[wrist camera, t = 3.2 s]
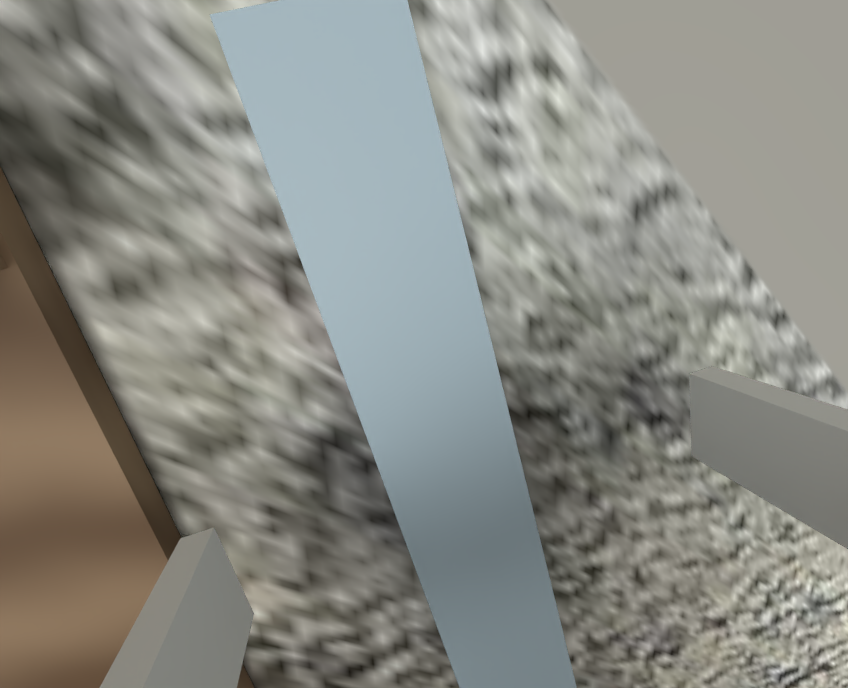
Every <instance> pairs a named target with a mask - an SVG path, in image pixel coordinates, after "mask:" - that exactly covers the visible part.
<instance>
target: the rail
mask: <svg viewBox="0 0 848 688" xmlns="http://www.w3.org/2000/svg"><path fill="white" fill-rule="evenodd" d="M210 17H211V20H212V22H213V25H214V28H215V30H216V33H217V36H218V38H219V41H220V44H221V47H222V49H223V52H224V55H225V57H226V60H227V63H228V65H229V68H230V71H231V73H232V76H233V79H234V82H235V84H236V87H237V90H238V92H239V95H240V98H241V100H242V103H243V106H244V108H245V111H246V114H247V117H248V119H249V122H250V125H251V127H252V130H253V133H254V135H255V138H256V141H257V143H258V146H259V149H260V152H261V154H262V157H263V160H264V162H265V165H266V168H267V170H268V173H269V176H270V178H271V181H272V184H273V187H274V189H275V192H276V195H277V197H278V200H279V203H280V205H281V208H282V211H283V214H284V216H285V219H286V222H287V224H288V227H289V230H290V232H291V235H292V238H293V240H294V243H295V246H296V249H297V251H298V254H299V257H300V259H301V262H302V265H303V267H304V270H305V273H306V275H307V278H308V281H309V284H310V286H311V289H312V292H313V294H314V297H315V300H316V302H317V305H318V308H319V310H320V313H321V316H322V319H323V321H324V324H325V327H326V329H327V332H328V335H329V337H330V340H331V343H332V345H333V348H334V351H335V354H336V356H337V359H338V362H339V364H340V367H341V370H342V372H343V375H344V378H345V380H346V383H347V386H348V389H349V391H350V394H351V397H352V399H353V402H354V405H355V407H356V410H357V413H358V415H359V418H360V421H361V424H362V426H363V429H364V432H365V434H366V437H367V440H368V442H369V445H370V448H371V450H372V453H373V456H374V459H375V461H376V464H377V467H378V469H379V472H380V475H381V477H382V480H383V483H384V485H385V488H386V491H387V494H388V496H389V499H390V502H391V504H392V507H393V510H394V512H395V515H396V518H397V520H398V523H399V526H400V529H401V531H402V534H403V537H404V539H405V542H406V545H407V547H408V550H409V553H410V555H411V558H412V561H413V564H414V566H415V569H416V572H417V574H418V577H419V580H420V582H421V585H422V588H423V591H424V593H425V596H426V599H427V601H428V604H429V607H430V609H431V612H432V615H433V617H434V620H435V623H436V626H437V628H438V631H439V634H440V636H441V639H442V642H443V644H444V647H445V650H446V652H447V655H448V658H449V661H450V663H451V666H452V669H453V671H454V674H455V677H456V679H457V682H458V685H459V687H460V688H577V687H576V683H575V678H574V674H573V670H572V666H571V662H570V658H569V654H568V650H567V646H566V642H565V638H564V634H563V630H562V626H561V622H560V618H559V614H558V609H557V605H556V601H555V597H554V593H553V589H552V585H551V581H550V577H549V573H548V569H547V565H546V561H545V557H544V553H543V549H542V545H541V541H540V536H539V532H538V528H537V524H536V520H535V516H534V512H533V508H532V504H531V500H530V496H529V492H528V488H527V484H526V480H525V476H524V472H523V468H522V463H521V459H520V455H519V451H518V447H517V443H516V439H515V435H514V431H513V427H512V423H511V419H510V415H509V411H508V407H507V403H506V399H505V395H504V390H503V386H502V382H501V378H500V374H499V370H498V366H497V362H496V358H495V354H494V350H493V346H492V342H491V338H490V334H489V330H488V326H487V322H486V317H485V313H484V309H483V305H482V301H481V297H480V293H479V289H478V285H477V281H476V277H475V273H474V269H473V265H472V261H471V257H470V253H469V248H468V244H467V240H466V236H465V232H464V228H463V224H462V220H461V216H460V212H459V208H458V204H457V200H456V196H455V192H454V188H453V184H452V180H451V175H450V171H449V167H448V163H447V159H446V155H445V151H444V147H443V143H442V139H441V135H440V131H439V127H438V123H437V119H436V115H435V111H434V107H433V102H432V98H431V94H430V90H429V86H428V82H427V78H426V74H425V70H424V66H423V62H422V58H421V54H420V50H419V46H418V42H417V38H416V34H415V29H414V25H413V21H412V17H411V13H410V9H409V5H408V1H407V0H279V1H274V2H269V3H264V4H259V5H255V6H250V7H245V8H240V9H235V10H230V11H225V12H220V13H215V14H210Z"/></svg>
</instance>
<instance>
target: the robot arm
mask: <svg viewBox="0 0 848 688" xmlns="http://www.w3.org/2000/svg"><path fill="white" fill-rule="evenodd" d="M689 387H690V417H691V448H692V457H694V458H696V459H697V460H699V461H701V462H702V463H704V464H706V465H707V466H709V467H711V468H712V469H714V470H716V471H717V472H719V473H721V474H722V475H724V476H726V477H727V478H729V479H731V480H733V481H734V482H736V483H738V484H739V485H741V486H743V487H744V488H746V489H748V490H749V491H751V492H753V493H754V494H756V495H758V496H759V497H761V498H763V499H764V500H766V501H768V502H770V503H771V504H773V505H775V506H776V507H778V508H780V509H781V510H783V511H785V512H786V513H788V514H790V515H791V516H793V517H795V518H796V519H798V520H800V521H801V522H803V523H805V524H807V525H808V526H810V527H812V528H813V529H815V530H817V531H818V532H820V533H822V534H823V535H825V536H827V537H828V538H830V539H832V540H833V541H835V542H837V543H838V544H840V545H842V546H844V547H845V548H847V549H848V410H847V409H844V408H841V407H838V406H835V405H832V404H828V403H825V402H822V401H819V400H816V399H813V398H810V397H807V396H804V395H800V394H797V393H794V392H791V391H788V390H785V389H782V388H779V387H776V386H772V385H769V384H766V383H763V382H760V381H757V380H754V379H751V378H748V377H744V376H741V375H738V374H735V373H732V372H729V371H726V370H723V369H719V368H716V367H713V366H711V367H708V368H704V369H701V370H698V371H695V372H692V373H689ZM253 615H254V613H253V611H252V608H251V606H250V604H249V602H248V600H247V598H246V595H245V593H244V591H243V589H242V587H241V585H240V582H239V580H238V578H237V576H236V574H235V572H234V569H233V567H232V565H231V563H230V561H229V559H228V556H227V554H226V552H225V550H224V548H223V546H222V544H221V541H220V539H219V537H218V535H217V533H216V531H215V528H211V529H208V530H204V531H201V532H198V533H195V534H192V535H189V536H186V537H183V538H180V540H179V542H178V544H177V546H176V547H175V549H174V551H173V553H172V555H171V557H170V558H169V560H168V562H167V564H166V566H165V568H164V570H163V571H162V573H161V575H160V577H159V579H158V581H157V582H156V584H155V586H154V588H153V590H152V592H151V594H150V595H149V597H148V599H147V601H146V603H145V605H144V606H143V608H142V610H141V612H140V614H139V616H138V618H137V619H136V621H135V623H134V625H133V627H132V629H131V631H130V632H129V634H128V636H127V638H126V640H125V642H124V643H123V645H122V647H121V649H120V651H119V653H118V655H117V656H116V658H115V660H114V662H113V664H112V666H111V667H110V669H109V671H108V673H107V675H106V677H105V679H104V680H103V682H102V684H101V686H100V688H237V685H238V680H239V676H240V672H241V667H242V663H243V659H244V654H245V650H246V646H247V641H248V637H249V633H250V628H251V624H252V620H253Z"/></svg>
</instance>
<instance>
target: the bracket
mask: <svg viewBox="0 0 848 688" xmlns="http://www.w3.org/2000/svg"><path fill="white" fill-rule="evenodd" d="M180 538H181V536H180V534H179V532H178V530H177V528H176V526H175V524H174V522H173V520H172V518H171V516H170V514H169V512H168V510H167V508H166V505H165V503H164V501H163V499H162V497H161V495H160V493H159V491H158V489H157V487H156V485H155V483H154V481H153V479H152V477H151V475H150V473H149V471H148V469H147V467H146V464H145V462H144V460H143V458H142V456H141V454H140V452H139V450H138V448H137V446H136V444H135V442H134V440H133V438H132V436H131V434H130V432H129V430H128V428H127V425H126V423H125V421H124V419H123V417H122V415H121V413H120V411H119V409H118V407H117V405H116V403H115V401H114V399H113V397H112V395H111V393H110V391H109V389H108V387H107V384H106V382H105V380H104V378H103V376H102V374H101V372H100V370H99V368H98V366H97V364H96V362H95V360H94V358H93V356H92V354H91V352H90V350H89V348H88V345H87V343H86V341H85V339H84V337H83V335H82V333H81V331H80V329H79V327H78V325H77V323H76V321H75V319H74V317H73V315H72V313H71V311H70V309H69V307H68V304H67V302H66V300H65V298H64V296H63V294H62V292H61V290H60V288H59V286H58V284H57V282H56V280H55V278H54V276H53V274H52V272H51V270H50V268H49V265H48V263H47V261H46V259H45V257H44V255H43V253H42V251H41V249H40V247H39V245H38V243H37V241H36V239H35V237H34V235H33V233H32V231H31V229H30V227H29V224H28V222H27V220H26V218H25V216H24V214H23V212H22V210H21V208H20V206H19V204H18V202H17V200H16V198H15V196H14V194H13V192H12V190H11V188H10V185H9V183H8V181H7V179H6V177H5V175H4V173H3V171H2V169H1V167H0V688H100V686H101V684H102V682H103V680H104V679H105V677H106V675H107V673H108V671H109V669H110V667H111V666H112V664H113V662H114V660H115V658H116V656H117V655H118V653H119V651H120V649H121V647H122V645H123V643H124V642H125V640H126V638H127V636H128V634H129V632H130V631H131V629H132V627H133V625H134V623H135V621H136V619H137V618H138V616H139V614H140V612H141V610H142V608H143V606H144V605H145V603H146V601H147V599H148V597H149V595H150V594H151V592H152V590H153V588H154V586H155V584H156V582H157V581H158V579H159V577H160V575H161V573H162V571H163V570H164V568H165V566H166V564H167V562H168V560H169V558H170V557H171V555H172V553H173V551H174V549H175V547H176V546H177V544H178V542H179V540H180ZM237 688H254V686H253V684H252V682H251V680H250V678H249V676H248V674H247V672H246V670H245V668H244V665H243V663H242V667H241V672H240V676H239V680H238V685H237Z"/></svg>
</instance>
